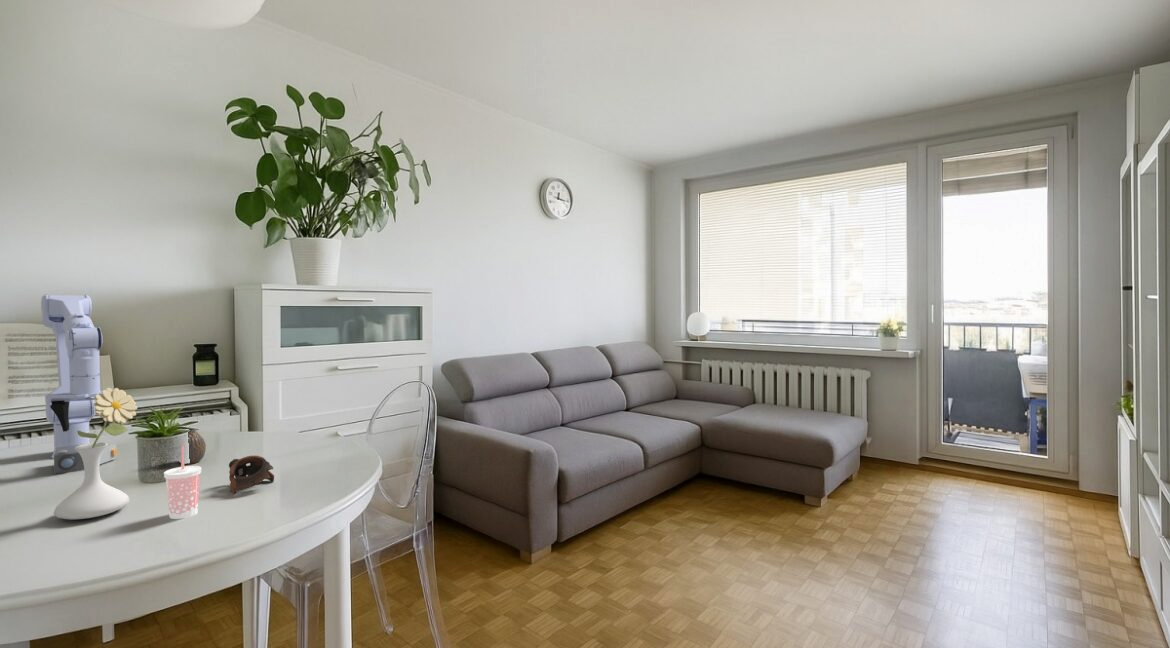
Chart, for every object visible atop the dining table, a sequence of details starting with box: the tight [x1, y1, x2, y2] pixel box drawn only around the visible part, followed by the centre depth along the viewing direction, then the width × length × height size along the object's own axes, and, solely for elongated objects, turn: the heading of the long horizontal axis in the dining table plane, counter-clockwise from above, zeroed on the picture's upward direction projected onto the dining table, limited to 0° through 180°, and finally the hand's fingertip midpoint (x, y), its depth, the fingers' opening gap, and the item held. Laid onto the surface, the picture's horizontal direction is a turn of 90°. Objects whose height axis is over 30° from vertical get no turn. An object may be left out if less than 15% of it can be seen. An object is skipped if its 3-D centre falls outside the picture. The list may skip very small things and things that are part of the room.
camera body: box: [53, 444, 84, 474], centre depth 142 cm, size 11×6×5 cm, turn 41°
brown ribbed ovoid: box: [188, 428, 207, 465], centre depth 147 cm, size 7×7×9 cm
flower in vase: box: [53, 387, 138, 520], centre depth 112 cm, size 13×11×25 cm
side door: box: [100, 443, 118, 465], centre depth 145 cm, size 8×1×4 cm, turn 6°
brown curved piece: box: [228, 455, 275, 495], centre depth 128 cm, size 12×10×8 cm
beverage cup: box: [163, 445, 202, 520], centre depth 111 cm, size 6×6×14 cm
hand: (86, 429), depth 141 cm, fingers open, 7 cm apart
